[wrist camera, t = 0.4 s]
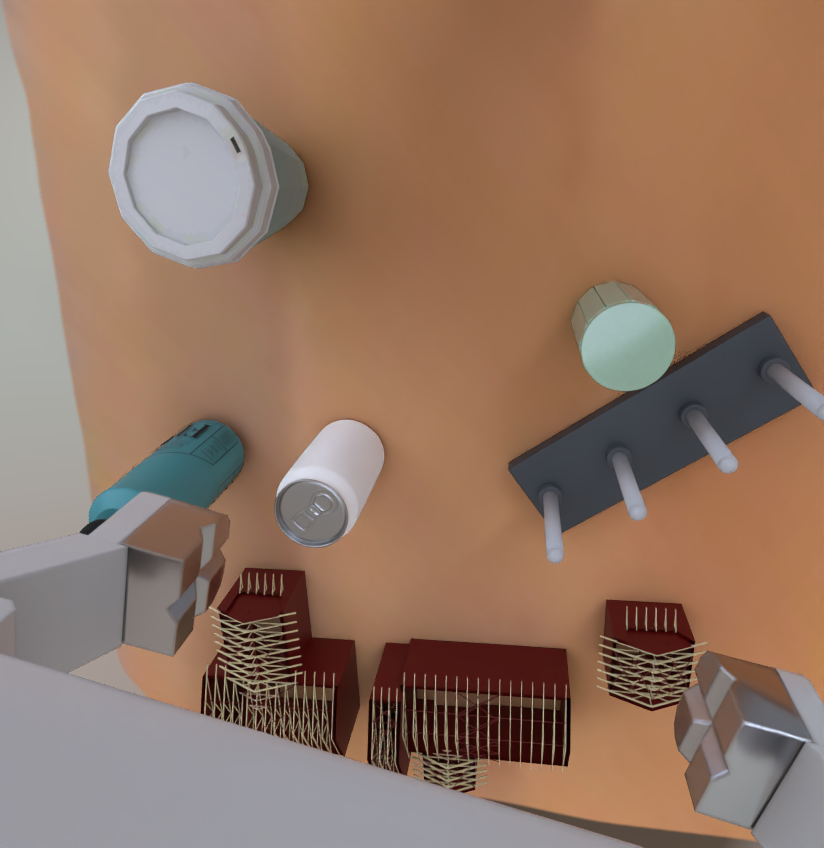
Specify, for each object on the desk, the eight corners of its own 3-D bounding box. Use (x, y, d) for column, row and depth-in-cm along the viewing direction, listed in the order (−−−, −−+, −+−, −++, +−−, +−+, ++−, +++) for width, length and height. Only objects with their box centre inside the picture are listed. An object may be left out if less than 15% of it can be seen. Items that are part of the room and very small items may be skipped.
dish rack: (763, 311, 50) (831, 349, 39) (810, 389, 52) (888, 448, 41) (508, 462, 58) (504, 530, 47) (555, 527, 59) (563, 608, 48)
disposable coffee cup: (246, 270, 55) (154, 302, 42) (179, 145, 53) (57, 134, 39) (356, 213, 52) (296, 227, 39) (292, 77, 50) (202, 39, 36)
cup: (586, 273, 51) (598, 292, 43) (662, 293, 51) (690, 316, 43) (562, 346, 54) (569, 378, 45) (635, 366, 53) (656, 401, 45)
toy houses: (244, 716, 73) (203, 795, 64) (218, 552, 66) (167, 615, 57) (675, 754, 66) (701, 850, 56) (697, 575, 59) (731, 651, 49)
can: (400, 453, 59) (371, 518, 48) (352, 497, 61) (314, 568, 50) (347, 403, 58) (306, 456, 47) (301, 449, 60) (251, 510, 49)
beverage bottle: (231, 401, 60) (101, 502, 41) (266, 464, 62) (156, 588, 43) (174, 426, 62) (24, 534, 43) (209, 486, 63) (80, 615, 45)
